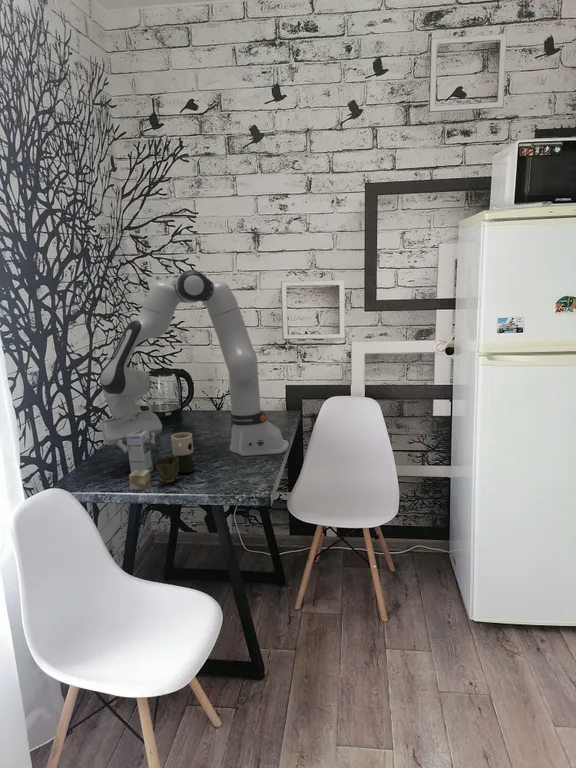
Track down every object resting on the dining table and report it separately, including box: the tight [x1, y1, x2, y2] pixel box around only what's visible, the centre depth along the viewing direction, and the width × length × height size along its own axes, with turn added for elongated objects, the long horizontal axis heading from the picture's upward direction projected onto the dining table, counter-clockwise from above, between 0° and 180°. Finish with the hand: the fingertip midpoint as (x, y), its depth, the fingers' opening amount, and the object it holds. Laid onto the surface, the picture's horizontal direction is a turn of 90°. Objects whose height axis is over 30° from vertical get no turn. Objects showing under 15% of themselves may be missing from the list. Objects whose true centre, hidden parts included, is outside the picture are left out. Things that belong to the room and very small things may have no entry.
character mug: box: [170, 431, 195, 474], centre depth 190 cm, size 11×7×13 cm, turn 3°
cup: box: [154, 454, 179, 484], centre depth 181 cm, size 8×7×8 cm
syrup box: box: [126, 430, 154, 474], centre depth 191 cm, size 6×6×14 cm
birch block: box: [128, 470, 152, 490], centre depth 178 cm, size 5×5×5 cm
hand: (140, 448), depth 190 cm, fingers open, 8 cm apart
